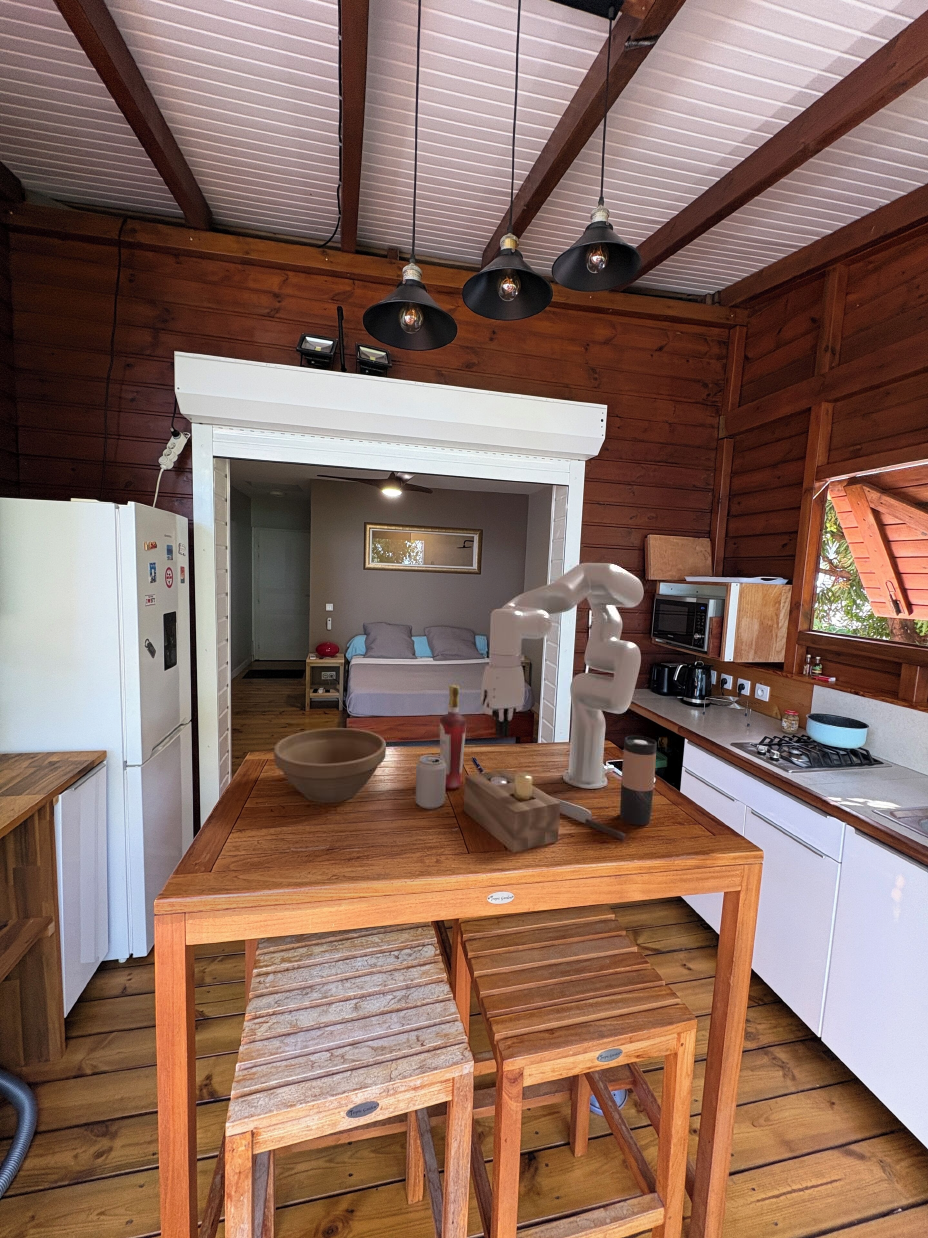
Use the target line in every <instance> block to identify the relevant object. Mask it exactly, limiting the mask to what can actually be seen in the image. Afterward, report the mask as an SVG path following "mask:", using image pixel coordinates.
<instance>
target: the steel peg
mask: <svg viewBox="0 0 928 1238" xmlns="http://www.w3.org/2000/svg"><path fill="white" fill-rule="evenodd" d="M491 783H493V784H494V785H496V786H497V785H503V784H507V780H506V779H505V778H502V777H493V778H491Z"/></svg>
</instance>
